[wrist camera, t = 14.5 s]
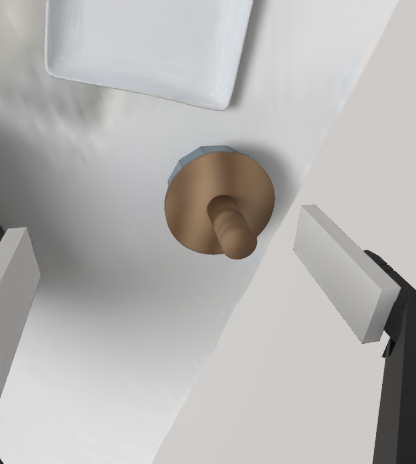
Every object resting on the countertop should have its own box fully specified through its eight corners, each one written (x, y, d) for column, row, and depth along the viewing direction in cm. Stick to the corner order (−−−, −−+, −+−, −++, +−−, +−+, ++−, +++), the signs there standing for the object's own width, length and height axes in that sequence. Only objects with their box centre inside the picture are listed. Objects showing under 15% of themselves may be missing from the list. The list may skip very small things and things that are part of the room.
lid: (166, 254, 50) (174, 302, 41) (162, 153, 42) (171, 186, 33) (265, 245, 52) (292, 288, 44) (278, 148, 45) (314, 179, 36)
